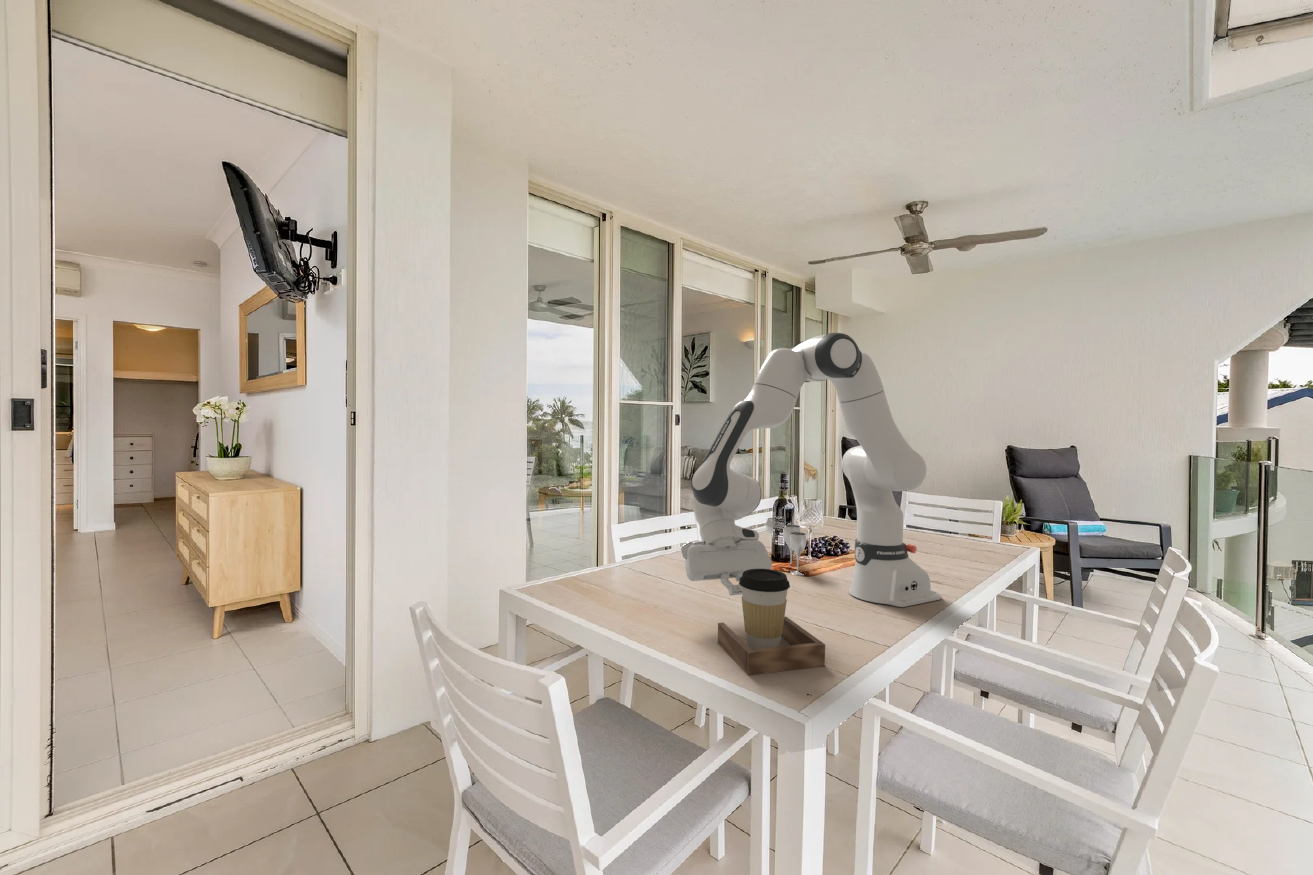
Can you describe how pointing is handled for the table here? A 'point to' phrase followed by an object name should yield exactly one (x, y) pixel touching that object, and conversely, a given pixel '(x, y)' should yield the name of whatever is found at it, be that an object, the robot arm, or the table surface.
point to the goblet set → (791, 540)
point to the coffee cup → (763, 606)
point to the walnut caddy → (775, 650)
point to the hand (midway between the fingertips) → (737, 593)
